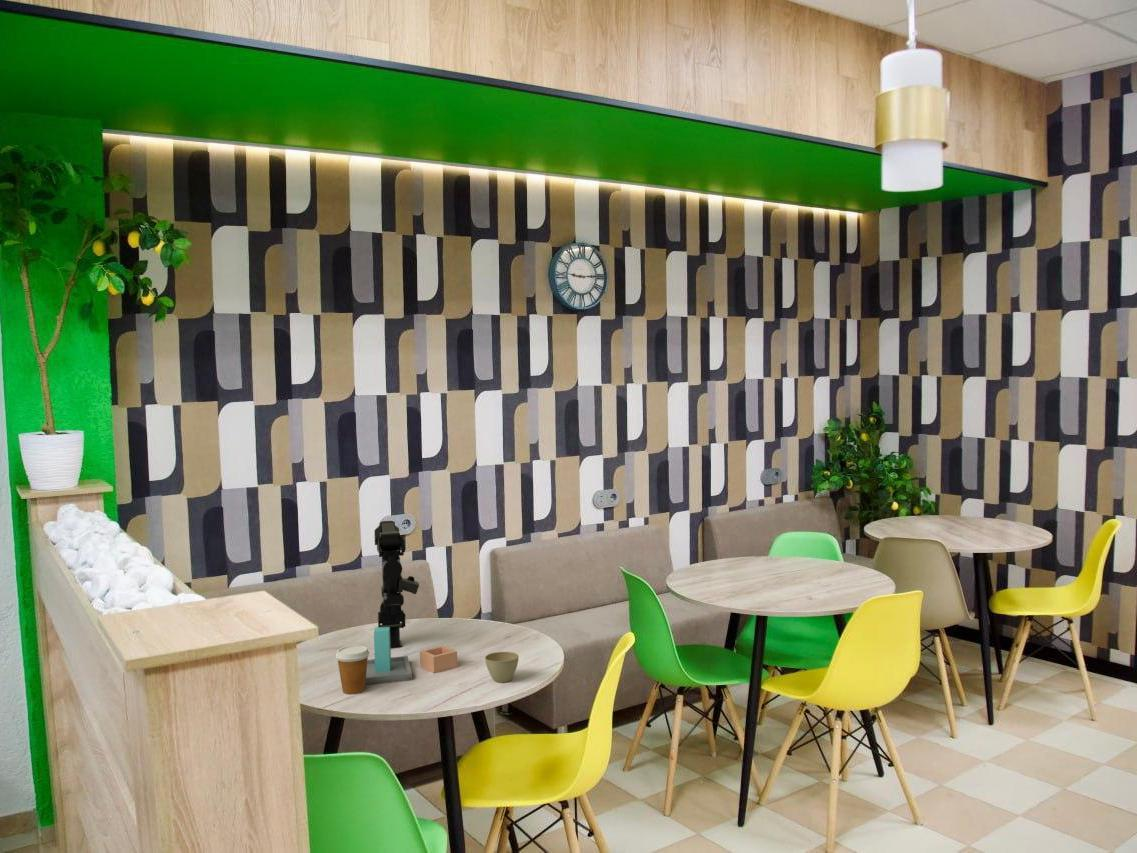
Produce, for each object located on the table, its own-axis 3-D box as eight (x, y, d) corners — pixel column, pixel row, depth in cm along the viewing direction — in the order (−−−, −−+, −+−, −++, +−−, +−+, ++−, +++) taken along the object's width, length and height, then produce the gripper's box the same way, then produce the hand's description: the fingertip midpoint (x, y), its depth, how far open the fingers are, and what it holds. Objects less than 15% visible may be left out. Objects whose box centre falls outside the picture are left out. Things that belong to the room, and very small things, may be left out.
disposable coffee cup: (362, 697, 259) (360, 655, 259) (331, 695, 261) (329, 654, 261) (375, 685, 269) (374, 645, 268) (345, 684, 271) (344, 644, 270)
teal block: (376, 667, 283) (375, 627, 282) (391, 666, 283) (389, 626, 282) (375, 672, 278) (373, 631, 278) (389, 671, 279) (388, 630, 278)
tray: (356, 667, 287) (355, 660, 287) (407, 662, 290) (407, 655, 290) (357, 685, 269) (356, 679, 269) (412, 680, 273) (411, 673, 273)
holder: (420, 666, 286) (419, 651, 285) (443, 661, 291) (442, 645, 291) (433, 673, 279) (433, 657, 279) (457, 667, 284) (456, 651, 284)
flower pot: (526, 677, 273) (525, 654, 272) (505, 687, 265) (504, 663, 264) (499, 672, 278) (499, 649, 278) (478, 681, 270) (477, 658, 270)
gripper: (419, 576, 284) (420, 625, 285) (414, 564, 302) (416, 611, 303) (382, 578, 281) (384, 628, 282) (380, 567, 299) (382, 614, 300)
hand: (393, 620), depth 292 cm, fingers open, 9 cm apart
